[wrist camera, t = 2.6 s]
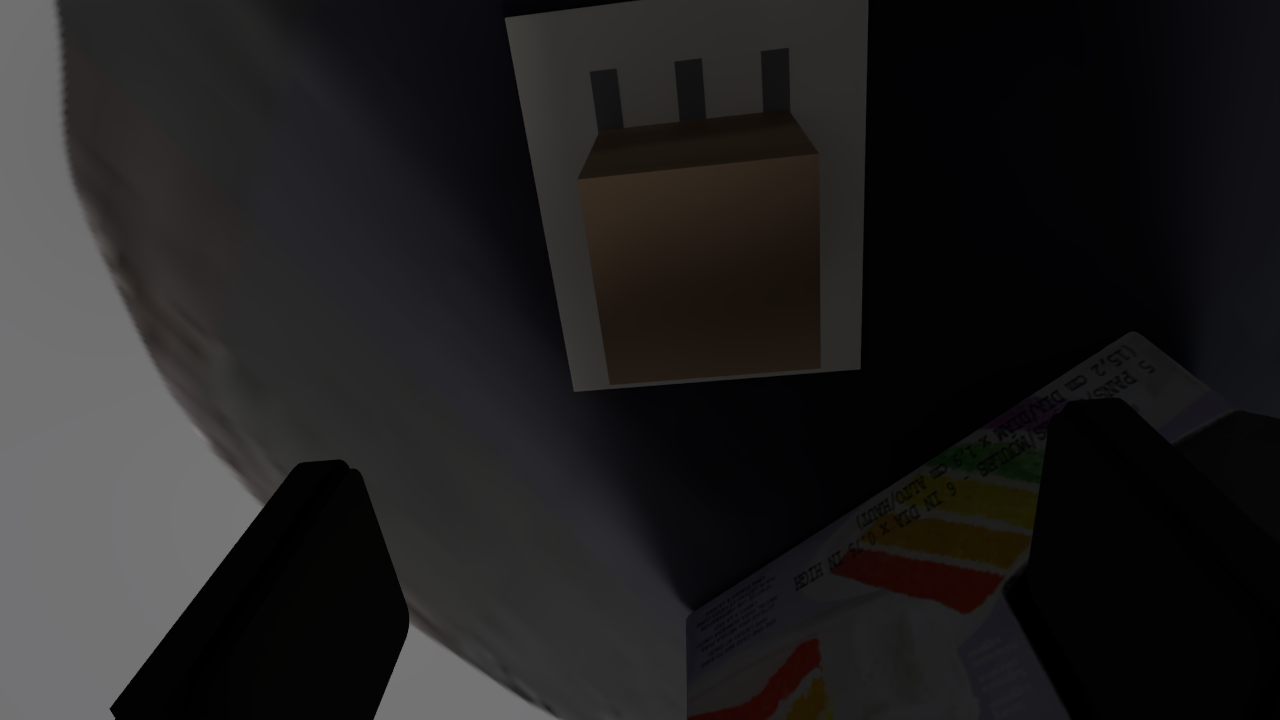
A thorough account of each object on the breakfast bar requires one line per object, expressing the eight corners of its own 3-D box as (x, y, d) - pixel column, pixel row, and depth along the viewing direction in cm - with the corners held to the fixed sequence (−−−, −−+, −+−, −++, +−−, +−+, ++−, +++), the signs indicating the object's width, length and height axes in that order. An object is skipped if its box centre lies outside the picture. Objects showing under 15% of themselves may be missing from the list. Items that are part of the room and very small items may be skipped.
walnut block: (599, 130, 20) (577, 179, 16) (788, 109, 20) (819, 153, 15) (623, 301, 22) (609, 385, 18) (792, 285, 22) (820, 368, 18)
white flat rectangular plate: (507, 17, 19) (504, 18, 19) (866, -30, 18) (869, -29, 18) (575, 387, 24) (573, 392, 24) (858, 364, 23) (860, 369, 23)
